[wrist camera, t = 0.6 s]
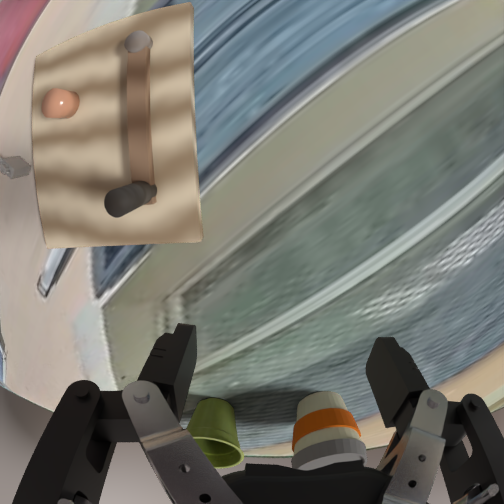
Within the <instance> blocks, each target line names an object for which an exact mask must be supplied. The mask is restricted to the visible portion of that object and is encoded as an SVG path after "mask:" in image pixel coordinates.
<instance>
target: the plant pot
mask: <svg viewBox="0 0 504 504" xmlns="http://www.w3.org/2000/svg"><path fill="white" fill-rule="evenodd" d="M186 429H187V430H188V431H189V432H190V434H191V435H192V437H193V438H194V440H195V441H196V443H197V444H198V446H199V447H200V448H201V450H202V451H203V453H204V454H205V456H206V457H207V458H208V460H209V461H210V462H211V464H212V465H213V466H214V468H228V467H233V466H235V465H238V464H239V463H241V462H242V461H243V459H244V454H243V452H242V450H241V449H240V444H239V441H238V437H237V430H236V422H235V414H234V408H233V407H232V406H231V405H230V404H229V403H228V402H227V401H224V400H222V399H218V398H208V399H206V400H201V401H200V402H199V403H198V405H197V407H196V409H195V411H194V413H193V415H192V418H191V420H190V422H189V424H188V426H187V428H186Z"/></svg>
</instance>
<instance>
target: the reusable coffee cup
mask: <svg viewBox="0 0 504 504" xmlns="http://www.w3.org/2000/svg"><path fill="white" fill-rule="evenodd" d="M360 436H361V434H360V431H359V429H358V426H357V424H356V422H355V420H354V418H353V416H352V414H351V413H350V412H349V411H348V410H347V408H346V406H345V404H344V401H343V399H342V397H341V396H340V395H339V394H337V393H335V392H331V391H322V392H316V393H313V394H311V395H308V396H307V397H305V398H304V399H302V400H301V401H300V402H299V404H298V407H297V419H296V424H295V425H294V429H293V441H292V450H293V452H294V456H293V458H292V461H291V462H292V468H295V469H300V470H312V469H316V468H320V467H323V466H326V465H330V464H333V463H336V462H346V461H354V460H363V465H364V466H365V464H366V463H367V455H366V447H365V444H364V443H363V442H362V441H361V439H360Z"/></svg>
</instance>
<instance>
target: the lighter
mask: <svg viewBox="0 0 504 504" xmlns="http://www.w3.org/2000/svg"><path fill="white" fill-rule="evenodd" d="M30 170H31V165H30V164H29V163H27V162H26V161H25V160H24V159H23V158H22V157H20V156H17V157H11V158H5V159H2V156H1V155H0V171H1V172H2V173H3V174H4V175H7V176H9V177H10V178H11V179H13V178H17V177H21V176H26V175H29V173H30Z"/></svg>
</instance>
